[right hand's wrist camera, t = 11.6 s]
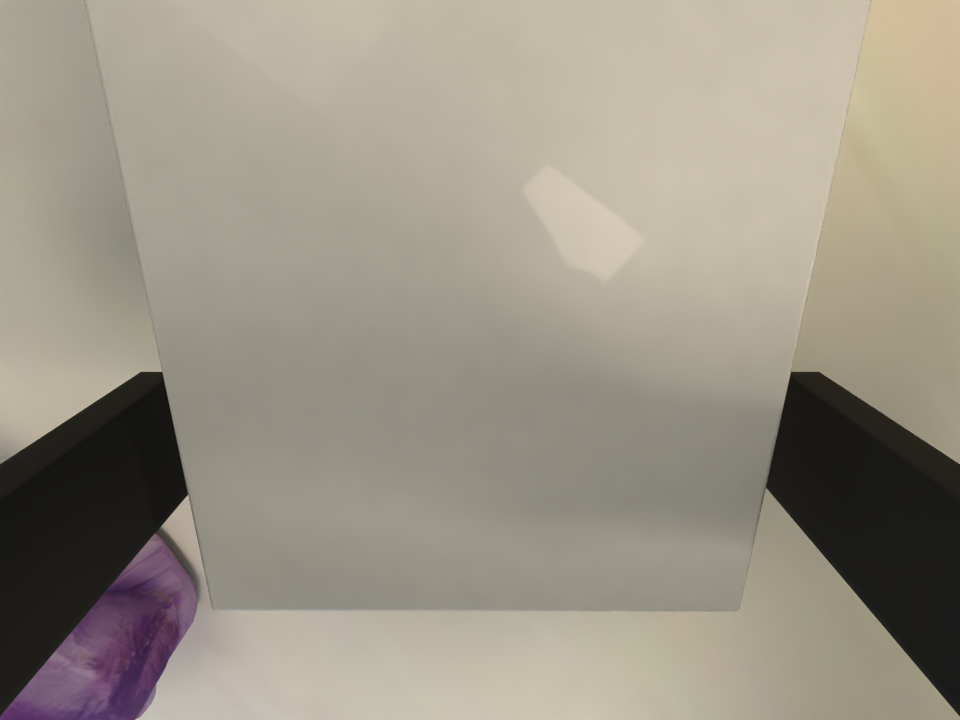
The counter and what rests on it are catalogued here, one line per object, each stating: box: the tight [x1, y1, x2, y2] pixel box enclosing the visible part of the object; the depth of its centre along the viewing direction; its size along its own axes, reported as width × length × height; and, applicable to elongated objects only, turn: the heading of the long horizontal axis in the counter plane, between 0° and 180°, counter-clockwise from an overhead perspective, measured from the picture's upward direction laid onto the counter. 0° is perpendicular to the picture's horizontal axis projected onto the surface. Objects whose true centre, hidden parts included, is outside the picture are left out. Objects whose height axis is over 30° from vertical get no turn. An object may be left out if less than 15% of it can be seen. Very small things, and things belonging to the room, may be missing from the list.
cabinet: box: [84, 0, 872, 611], centre depth 12 cm, size 21×10×10 cm, turn 0°
